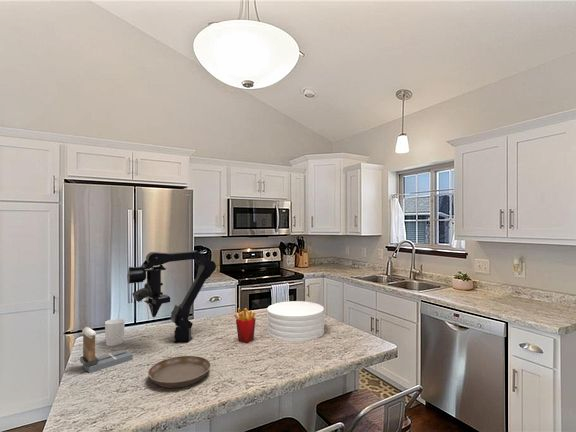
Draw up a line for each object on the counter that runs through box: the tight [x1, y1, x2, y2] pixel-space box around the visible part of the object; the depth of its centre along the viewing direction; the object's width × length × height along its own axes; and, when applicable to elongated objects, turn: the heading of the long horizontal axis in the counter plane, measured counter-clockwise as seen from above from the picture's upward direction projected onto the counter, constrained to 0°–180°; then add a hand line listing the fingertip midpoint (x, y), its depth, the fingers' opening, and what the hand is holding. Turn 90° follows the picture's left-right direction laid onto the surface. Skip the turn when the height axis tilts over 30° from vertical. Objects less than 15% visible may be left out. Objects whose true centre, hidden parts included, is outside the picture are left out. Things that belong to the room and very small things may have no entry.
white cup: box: [104, 318, 126, 347], centre depth 143 cm, size 8×8×10 cm
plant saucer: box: [147, 355, 212, 389], centre depth 111 cm, size 21×21×3 cm
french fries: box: [233, 307, 257, 344], centre depth 143 cm, size 9×8×15 cm
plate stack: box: [266, 300, 325, 342], centre depth 156 cm, size 28×28×12 cm
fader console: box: [82, 349, 134, 374], centre depth 122 cm, size 15×8×2 cm, turn 137°
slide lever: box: [79, 326, 98, 367], centre depth 117 cm, size 4×7×12 cm, turn 47°
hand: (153, 316), depth 138 cm, fingers closed
